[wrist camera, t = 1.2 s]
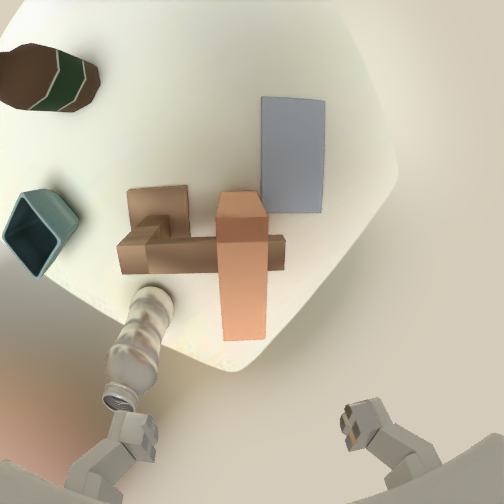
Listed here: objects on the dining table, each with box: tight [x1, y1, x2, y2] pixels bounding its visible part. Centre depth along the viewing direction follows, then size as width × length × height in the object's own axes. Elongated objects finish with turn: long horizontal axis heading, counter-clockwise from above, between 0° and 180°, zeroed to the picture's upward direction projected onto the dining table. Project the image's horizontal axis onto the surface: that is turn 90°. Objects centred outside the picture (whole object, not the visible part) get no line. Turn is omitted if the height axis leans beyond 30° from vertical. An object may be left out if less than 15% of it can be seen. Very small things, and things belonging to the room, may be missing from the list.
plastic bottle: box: [102, 286, 174, 413], centre depth 30 cm, size 6×7×20 cm
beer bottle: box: [0, 43, 100, 112], centre depth 15 cm, size 8×8×24 cm
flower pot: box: [2, 189, 78, 280], centre depth 29 cm, size 9×9×9 cm
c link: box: [215, 191, 268, 341], centre depth 28 cm, size 12×4×11 cm, turn 0°
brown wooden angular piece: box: [116, 185, 286, 274], centre depth 30 cm, size 10×18×12 cm, turn 90°
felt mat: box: [261, 97, 325, 213], centre depth 32 cm, size 15×8×1 cm, turn 0°
